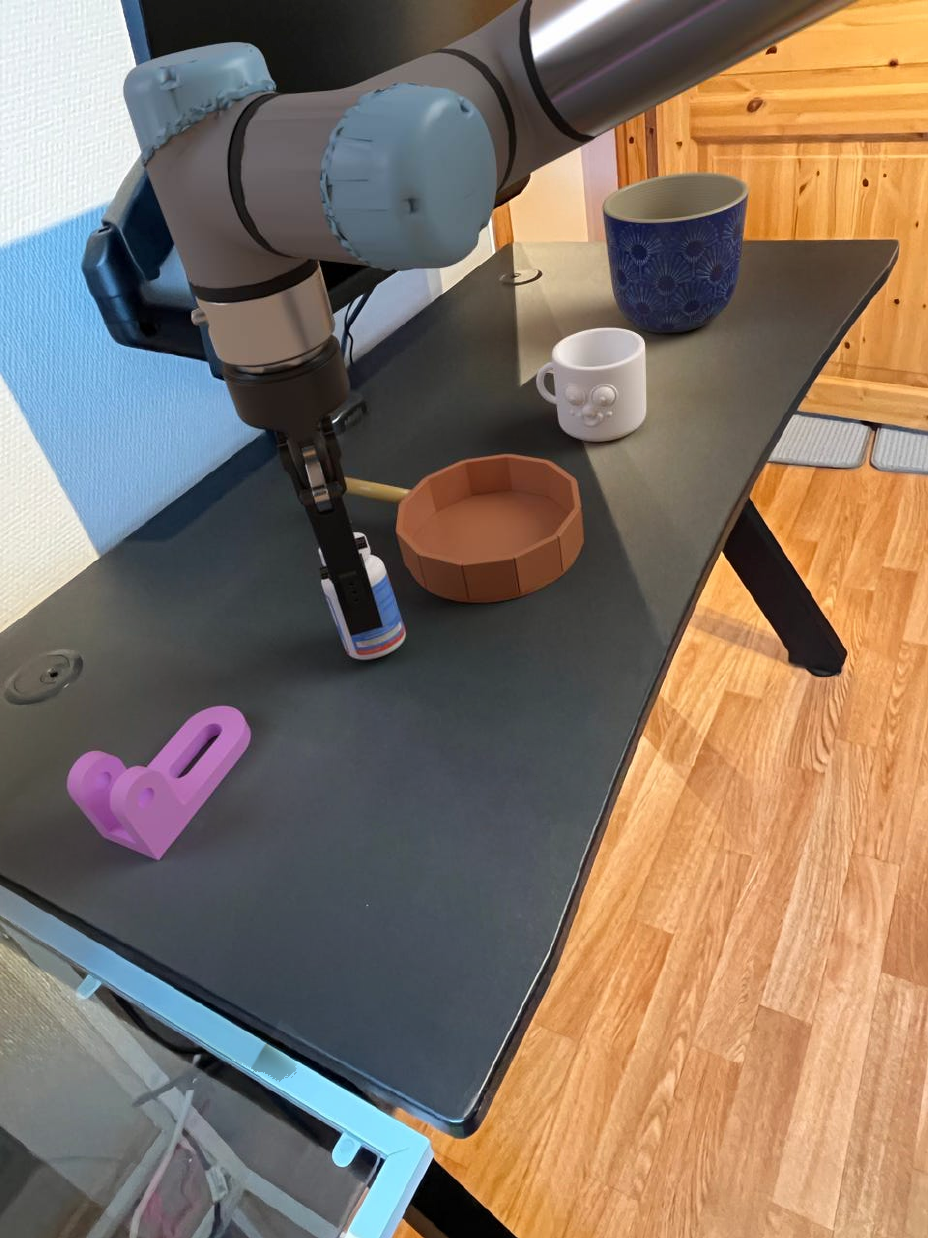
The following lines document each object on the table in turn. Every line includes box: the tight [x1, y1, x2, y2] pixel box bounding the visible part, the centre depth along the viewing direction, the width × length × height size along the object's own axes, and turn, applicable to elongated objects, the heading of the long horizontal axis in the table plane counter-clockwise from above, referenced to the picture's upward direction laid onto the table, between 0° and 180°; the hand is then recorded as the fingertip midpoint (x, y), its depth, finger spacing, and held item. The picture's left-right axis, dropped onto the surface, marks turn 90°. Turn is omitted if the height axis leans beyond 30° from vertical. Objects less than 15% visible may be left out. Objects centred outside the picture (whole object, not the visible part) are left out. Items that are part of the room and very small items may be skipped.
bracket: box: [66, 705, 252, 861], centre depth 63 cm, size 13×6×7 cm, turn 154°
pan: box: [344, 453, 585, 604], centre depth 82 cm, size 28×17×5 cm, turn 59°
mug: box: [535, 327, 647, 443], centre depth 91 cm, size 12×10×9 cm
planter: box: [602, 172, 750, 334], centre depth 105 cm, size 17×17×15 cm
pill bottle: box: [318, 531, 407, 661], centre depth 70 cm, size 6×5×10 cm
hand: (365, 626), depth 68 cm, fingers closed
